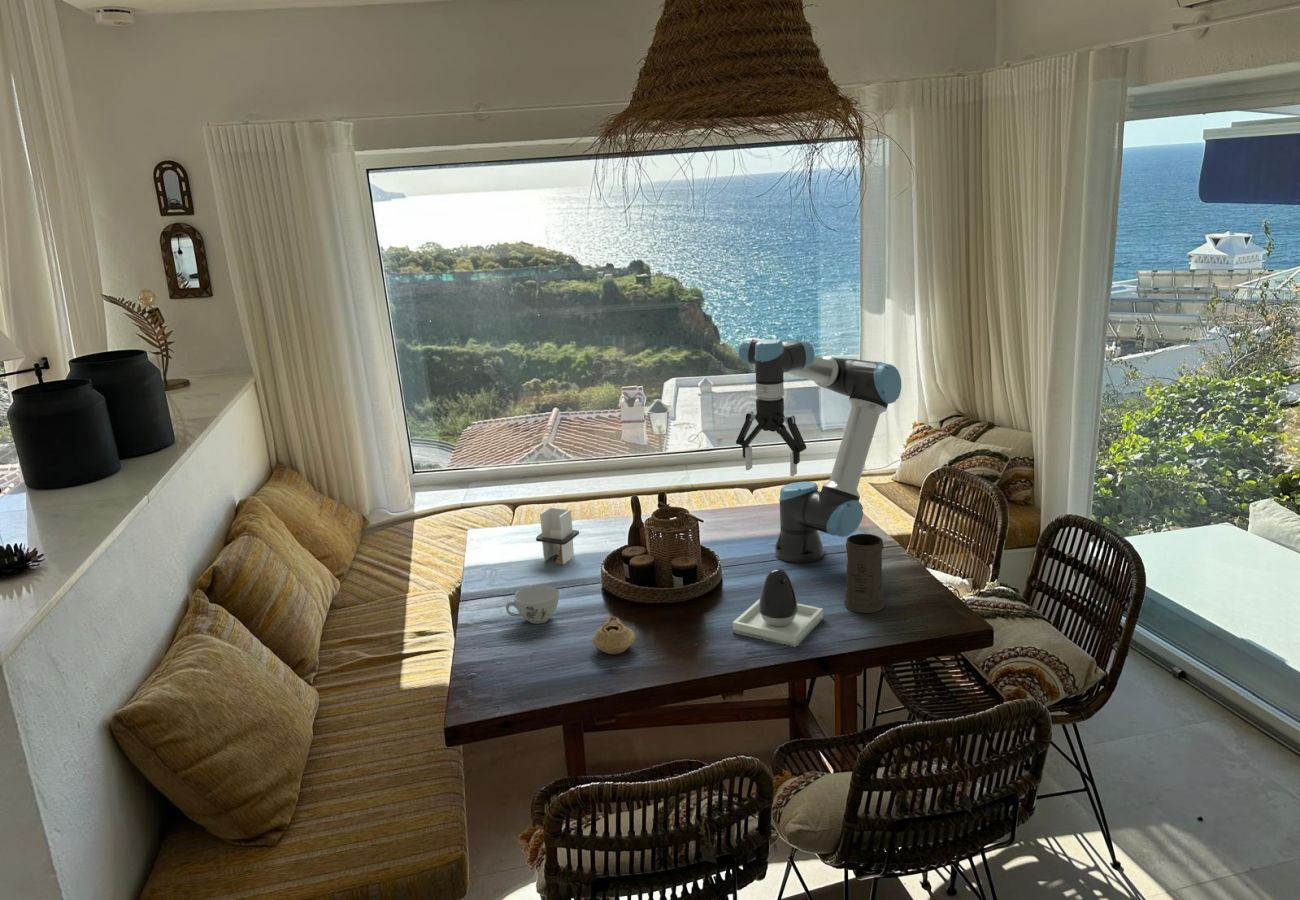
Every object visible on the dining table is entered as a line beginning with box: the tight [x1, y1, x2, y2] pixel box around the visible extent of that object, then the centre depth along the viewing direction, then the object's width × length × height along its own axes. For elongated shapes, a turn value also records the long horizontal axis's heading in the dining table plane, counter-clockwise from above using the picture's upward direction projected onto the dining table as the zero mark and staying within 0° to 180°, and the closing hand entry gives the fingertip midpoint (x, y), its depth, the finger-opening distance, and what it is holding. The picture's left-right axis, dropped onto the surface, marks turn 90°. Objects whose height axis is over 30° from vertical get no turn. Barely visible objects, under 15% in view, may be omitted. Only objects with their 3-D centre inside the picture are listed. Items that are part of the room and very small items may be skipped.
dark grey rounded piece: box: [759, 568, 798, 626], centre depth 250 cm, size 10×10×15 cm
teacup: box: [505, 584, 560, 625], centre depth 262 cm, size 15×12×8 cm
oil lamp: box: [592, 616, 636, 655], centre depth 244 cm, size 11×15×8 cm
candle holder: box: [535, 506, 580, 565], centre depth 303 cm, size 25×24×16 cm
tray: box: [732, 598, 824, 648], centre depth 252 cm, size 18×18×3 cm
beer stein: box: [843, 533, 885, 614], centre depth 261 cm, size 15×11×20 cm
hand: (771, 471), depth 262 cm, fingers open, 13 cm apart
